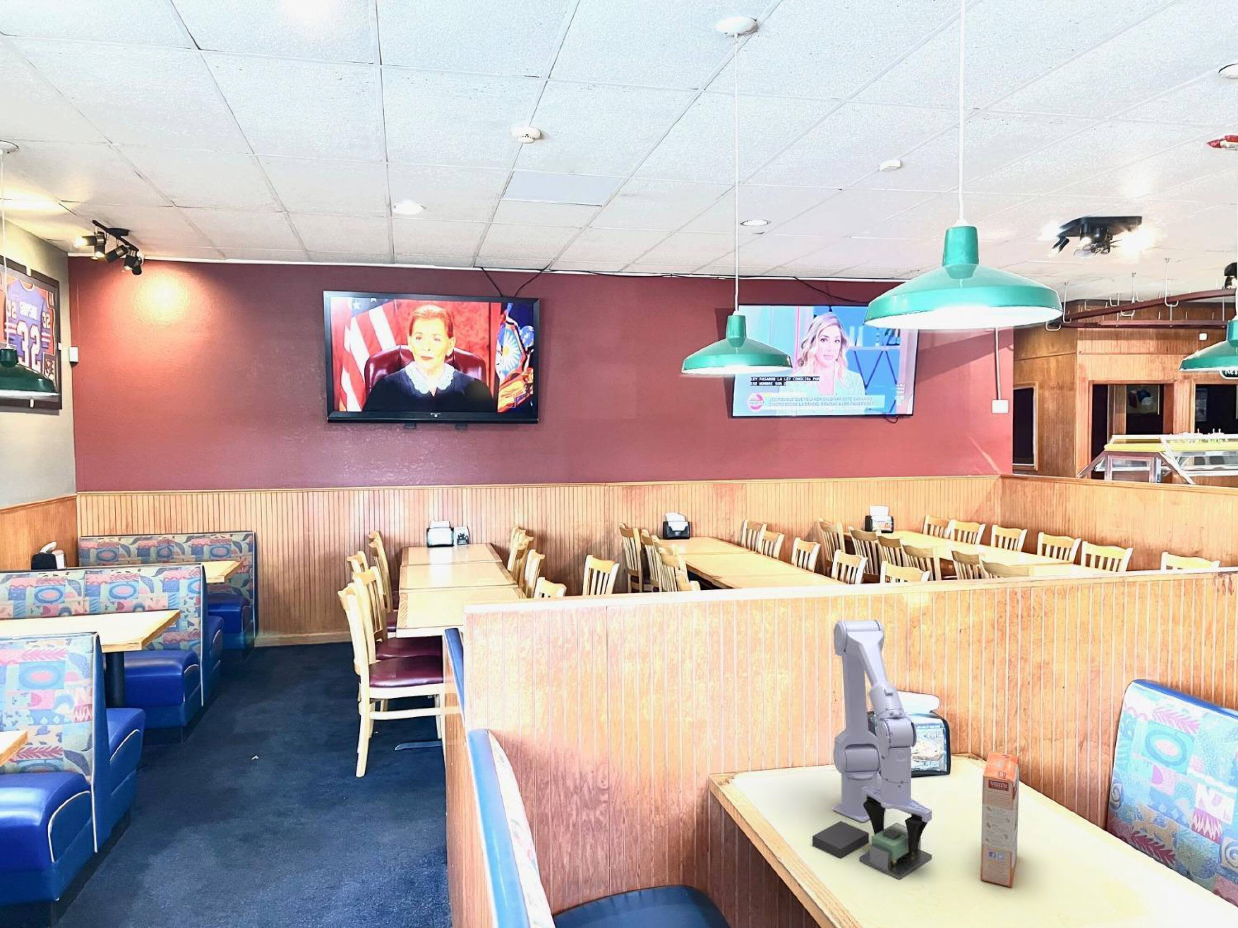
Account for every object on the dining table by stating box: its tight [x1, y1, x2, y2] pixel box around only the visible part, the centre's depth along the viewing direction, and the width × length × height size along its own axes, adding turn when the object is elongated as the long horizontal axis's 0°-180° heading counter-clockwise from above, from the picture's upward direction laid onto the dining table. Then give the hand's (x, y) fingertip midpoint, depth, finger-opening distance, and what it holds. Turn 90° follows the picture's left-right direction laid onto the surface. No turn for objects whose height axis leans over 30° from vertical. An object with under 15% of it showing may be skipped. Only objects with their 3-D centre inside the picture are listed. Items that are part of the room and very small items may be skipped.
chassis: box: [858, 836, 933, 881], centre depth 163 cm, size 12×9×4 cm
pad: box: [811, 820, 870, 859], centre depth 170 cm, size 10×7×2 cm
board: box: [870, 822, 909, 861], centre depth 163 cm, size 9×5×4 cm, turn 130°
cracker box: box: [980, 750, 1020, 888], centre depth 160 cm, size 14×6×21 cm, turn 150°
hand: (895, 843), depth 163 cm, fingers open, 7 cm apart
